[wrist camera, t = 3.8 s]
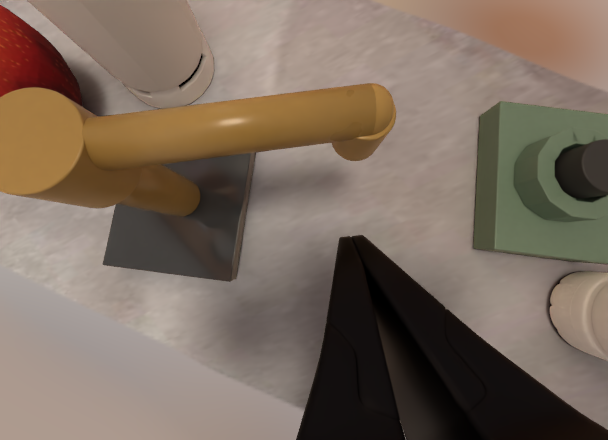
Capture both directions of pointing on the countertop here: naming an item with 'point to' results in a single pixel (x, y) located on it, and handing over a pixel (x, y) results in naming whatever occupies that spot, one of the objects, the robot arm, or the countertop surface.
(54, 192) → the spout
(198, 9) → the countertop surface
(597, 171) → the dark round button
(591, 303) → the water bottle
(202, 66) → the bottle
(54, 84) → the fruit
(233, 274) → the tap base
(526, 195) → the green button mount
